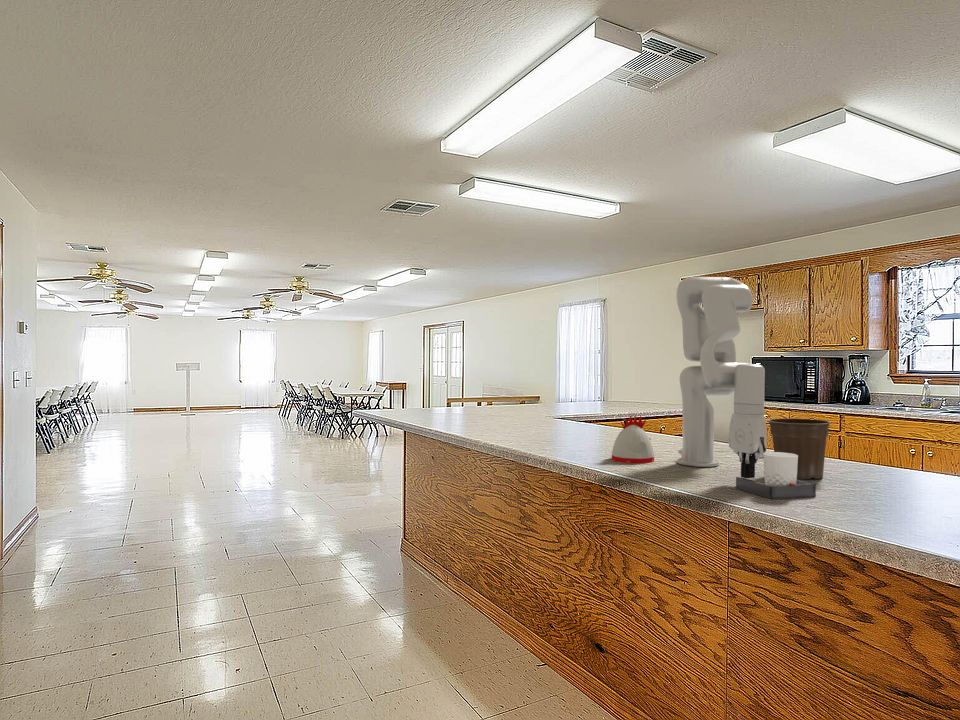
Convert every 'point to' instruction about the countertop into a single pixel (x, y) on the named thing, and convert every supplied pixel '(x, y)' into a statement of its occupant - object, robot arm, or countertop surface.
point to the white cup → (780, 468)
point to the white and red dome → (633, 444)
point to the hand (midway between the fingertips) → (747, 477)
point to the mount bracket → (777, 489)
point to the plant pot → (802, 443)
